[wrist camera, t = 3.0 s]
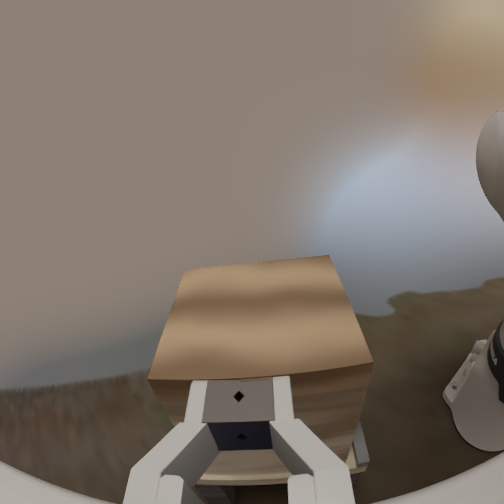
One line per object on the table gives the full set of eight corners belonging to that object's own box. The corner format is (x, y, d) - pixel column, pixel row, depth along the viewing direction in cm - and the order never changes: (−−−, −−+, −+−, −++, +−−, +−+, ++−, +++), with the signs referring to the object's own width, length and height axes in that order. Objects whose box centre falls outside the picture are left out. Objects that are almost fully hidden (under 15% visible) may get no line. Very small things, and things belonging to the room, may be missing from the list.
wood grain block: (344, 465, 21) (373, 361, 14) (205, 474, 21) (147, 378, 15) (325, 368, 31) (328, 255, 25) (215, 378, 32) (185, 269, 26)
